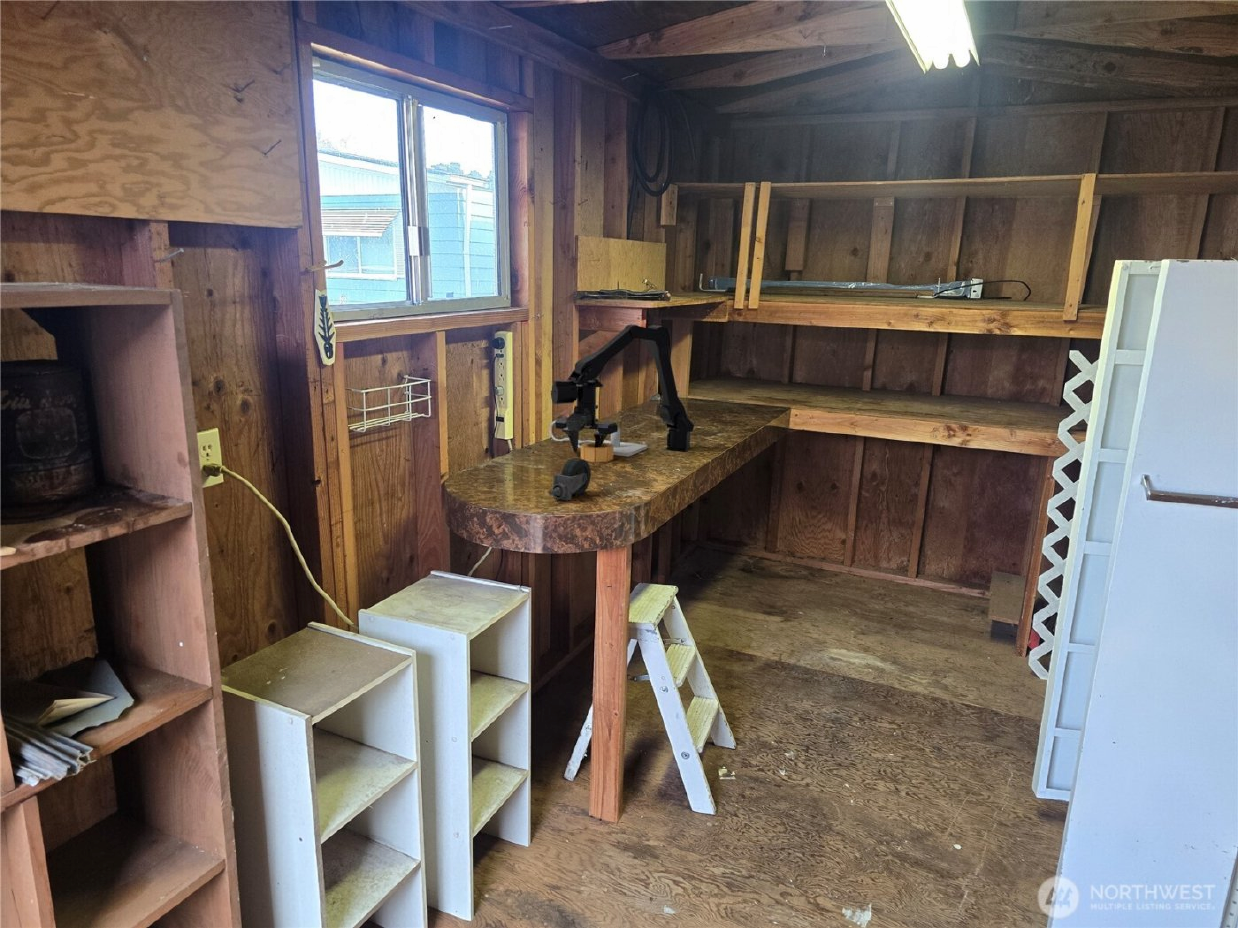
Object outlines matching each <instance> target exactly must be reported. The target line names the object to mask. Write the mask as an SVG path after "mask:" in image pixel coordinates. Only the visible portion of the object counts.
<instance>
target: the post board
mask: <svg viewBox="0 0 1238 928" xmlns="http://www.w3.org/2000/svg"><path fill="white" fill-rule="evenodd" d="M603 443H609V444H612V445H613V456H621V457H627V458H628V457H631V456H633V455H636V454H637V453H641V452H642V451H644V450H647V449H648V445H647V444H640V443H632V442H623V441H621V429H620V428H618V432H615V433H612V434H610V440H606V439H605V440H604V442H603Z"/></svg>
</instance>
